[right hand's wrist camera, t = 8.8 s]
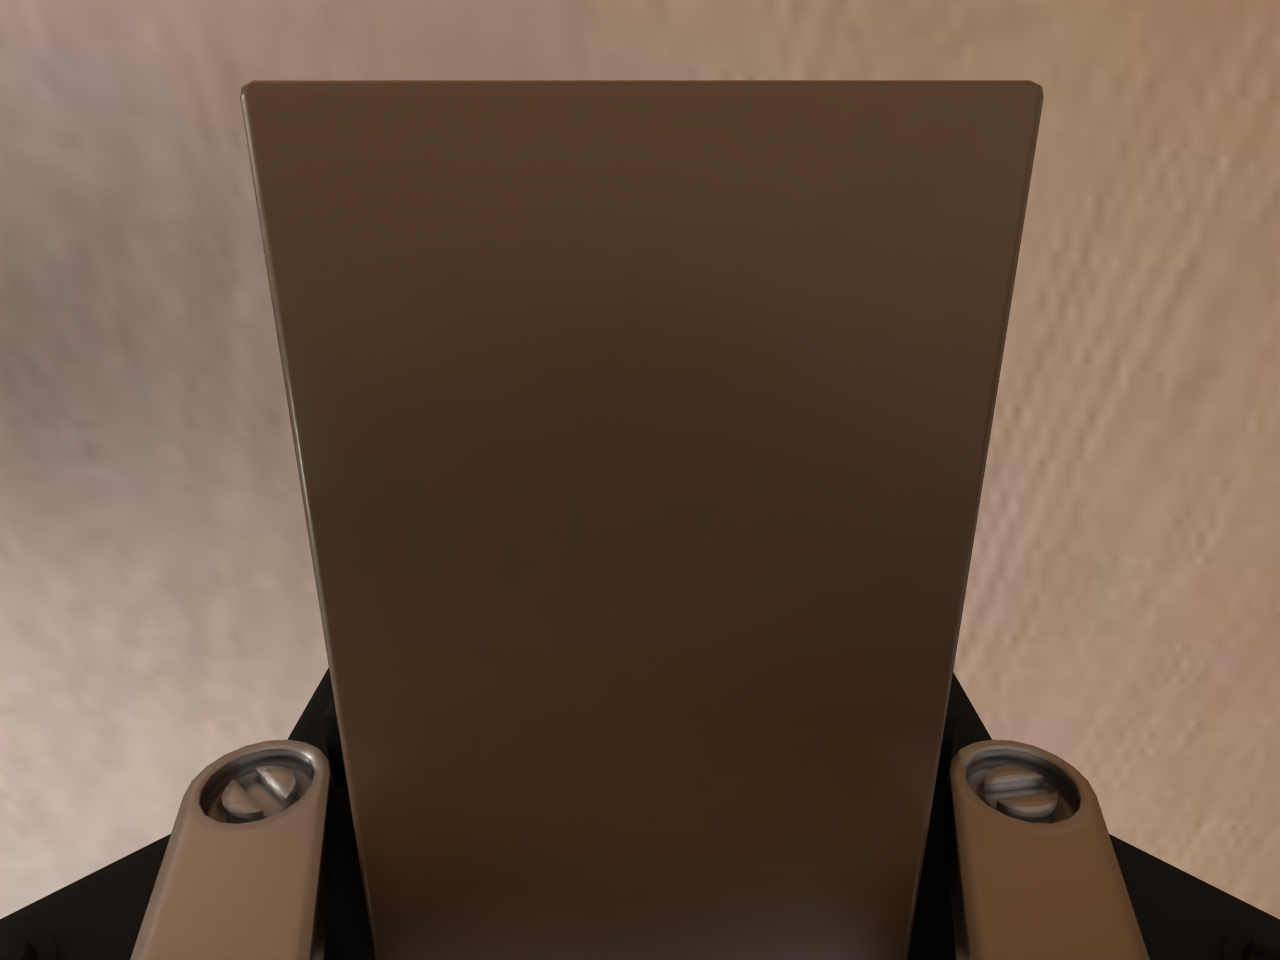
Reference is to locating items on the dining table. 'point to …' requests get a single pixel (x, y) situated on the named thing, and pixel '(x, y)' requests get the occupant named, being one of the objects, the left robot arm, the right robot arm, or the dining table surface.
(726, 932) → the beam
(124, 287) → the dining table surface
